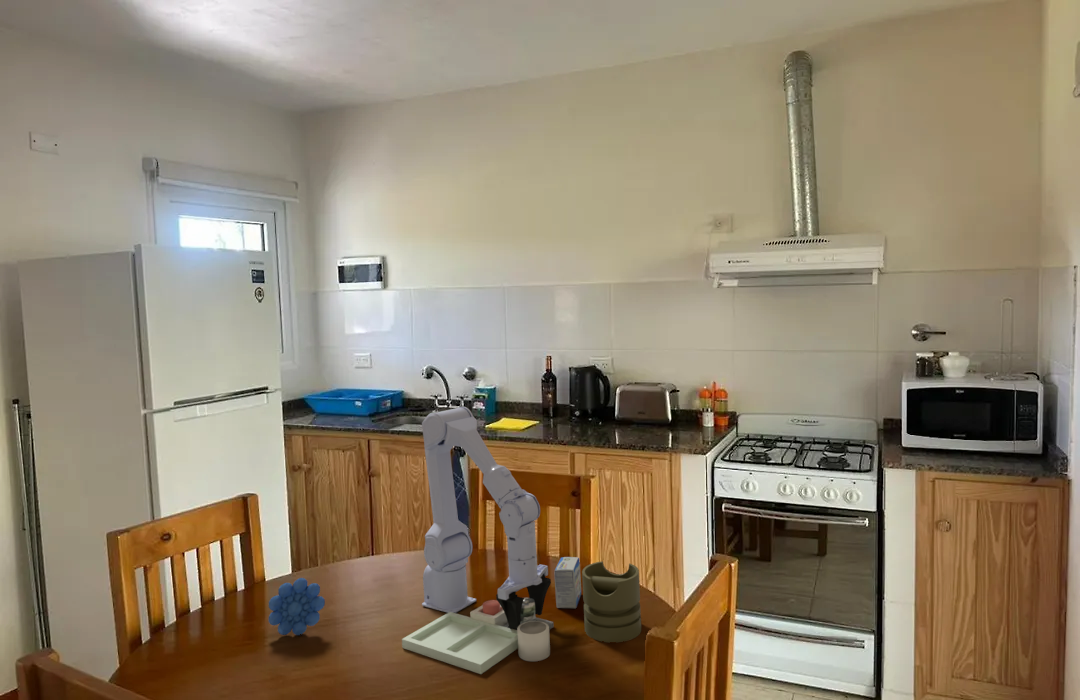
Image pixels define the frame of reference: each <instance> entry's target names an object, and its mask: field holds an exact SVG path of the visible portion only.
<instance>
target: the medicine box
mask: <svg viewBox="0 0 1080 700" xmlns="http://www.w3.org/2000/svg"><path fill="white" fill-rule="evenodd" d="M553 573H554V586H555V587H554V588H555V603H556V605H555V606H556V608H557V609H576V608H577V607H578V604H579V602H580V599H581V596H582V582H581V580H582V579H581V578H582V577H581V562H580V557H578V556H576V557H575V556H564V557H560V559H559V561H558V563H557V565H556V567H555V569H554V572H553Z"/></svg>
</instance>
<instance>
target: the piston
mask: <svg viewBox="0 0 1080 700" xmlns="http://www.w3.org/2000/svg"><path fill="white" fill-rule="evenodd" d="M581 573H582V574H581V578H582V579H581V580H582V594H583V595H582V598H583V602H584V603H583V614H584V615H583V619H584V632H586V633H585V634H586V635H587V637H589V638H590V639H592V638H593V640H595V641H598V642H602V641H604V642H603V643H610V642H616V643H622V642H623V641H624V642H628V641H630V640H633V639H636V638H637V637H638V636H639V635H640V634H641V632H642V615H641V612H642V611H641V603H640V600H641V593H640V591H641V590H640V589H641V587H640V569H639V568H638V567H637V566H636V565H635V564H633V563H629V564H628V570H627V571H626V572H624V573H620V574H617V573H613V572H611V571H609V570H608V568H606V567H605V565H604V561H602V560H601V561H597V562H593V563H590V564H588V565H586V566H585V567H584V568H583V569H582V571H581Z"/></svg>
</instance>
